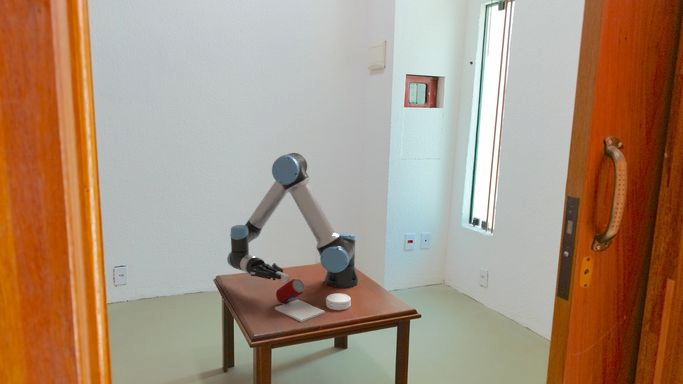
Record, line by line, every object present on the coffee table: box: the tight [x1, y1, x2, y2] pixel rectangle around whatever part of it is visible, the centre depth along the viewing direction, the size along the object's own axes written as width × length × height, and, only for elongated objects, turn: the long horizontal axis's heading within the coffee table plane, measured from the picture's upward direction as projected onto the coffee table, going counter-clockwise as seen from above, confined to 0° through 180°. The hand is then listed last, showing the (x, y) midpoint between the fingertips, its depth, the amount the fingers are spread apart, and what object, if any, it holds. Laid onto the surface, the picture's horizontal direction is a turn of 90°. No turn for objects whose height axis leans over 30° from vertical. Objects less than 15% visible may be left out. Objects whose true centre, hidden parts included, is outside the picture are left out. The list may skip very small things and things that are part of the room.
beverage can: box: [275, 278, 305, 305], centre depth 193 cm, size 7×7×12 cm
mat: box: [274, 299, 326, 323], centre depth 190 cm, size 16×12×1 cm
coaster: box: [325, 293, 352, 311], centre depth 196 cm, size 10×10×4 cm
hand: (287, 278), depth 192 cm, fingers closed
